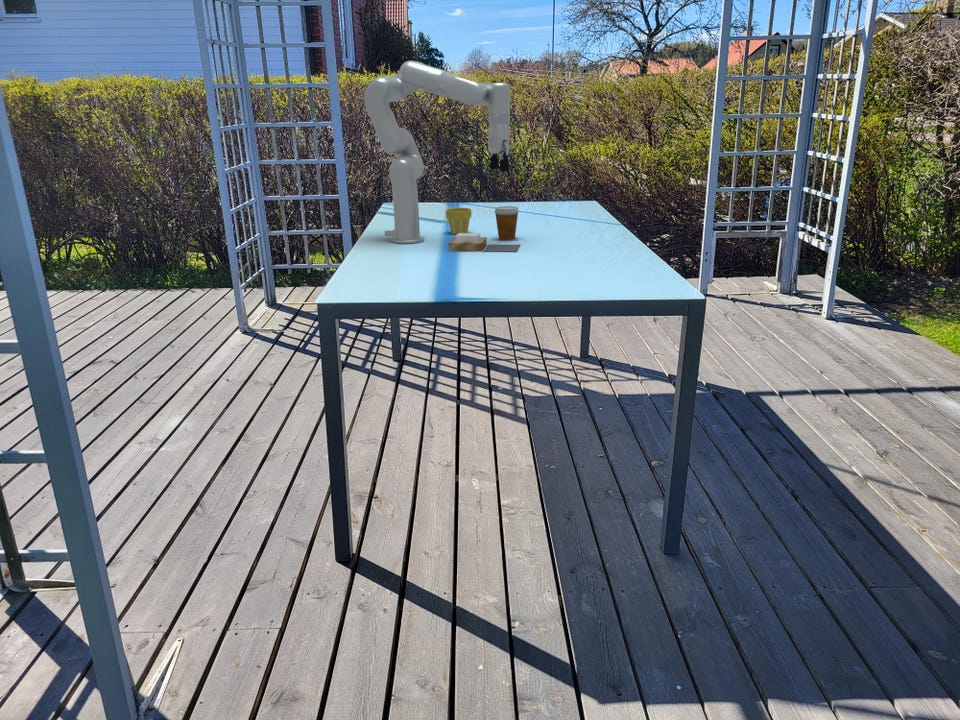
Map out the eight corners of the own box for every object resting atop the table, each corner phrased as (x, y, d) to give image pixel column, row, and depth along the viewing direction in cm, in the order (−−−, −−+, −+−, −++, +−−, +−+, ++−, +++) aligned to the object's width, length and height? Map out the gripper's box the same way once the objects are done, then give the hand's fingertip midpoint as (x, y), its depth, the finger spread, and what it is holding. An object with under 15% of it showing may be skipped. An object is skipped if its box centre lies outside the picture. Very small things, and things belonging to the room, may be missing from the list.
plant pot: (443, 232, 294) (442, 208, 290) (467, 230, 297) (467, 206, 293) (450, 236, 284) (449, 211, 281) (474, 234, 287) (474, 209, 284)
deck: (449, 251, 254) (448, 242, 253) (454, 245, 265) (454, 237, 264) (482, 251, 252) (482, 243, 251) (486, 245, 263) (486, 237, 262)
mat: (483, 251, 251) (483, 250, 251) (488, 245, 264) (488, 244, 263) (517, 252, 250) (517, 251, 250) (520, 245, 262) (520, 244, 262)
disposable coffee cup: (521, 237, 279) (521, 206, 275) (516, 241, 270) (516, 209, 266) (497, 236, 281) (497, 205, 277) (492, 240, 272) (491, 209, 268)
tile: (455, 241, 255) (455, 235, 254) (458, 238, 261) (458, 233, 260) (477, 241, 254) (477, 236, 253) (480, 238, 260) (479, 233, 259)
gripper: (481, 120, 258) (481, 168, 264) (498, 120, 243) (498, 172, 248) (500, 119, 260) (500, 167, 266) (518, 120, 245) (518, 171, 251)
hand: (499, 169), depth 257 cm, fingers open, 9 cm apart
